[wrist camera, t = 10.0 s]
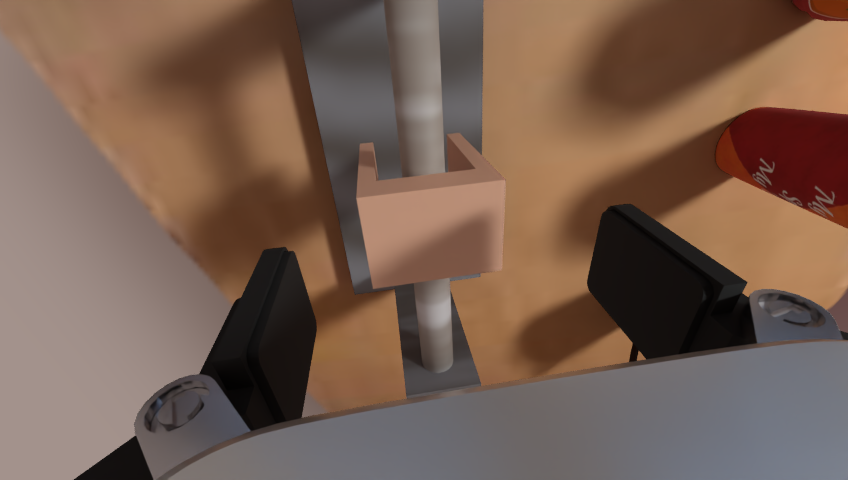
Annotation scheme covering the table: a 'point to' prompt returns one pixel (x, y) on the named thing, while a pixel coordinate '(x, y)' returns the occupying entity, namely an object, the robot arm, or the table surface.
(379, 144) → the rack
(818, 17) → the smoothie
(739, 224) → the table surface
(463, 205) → the open topped box
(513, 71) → the table surface
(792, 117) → the paper cup
